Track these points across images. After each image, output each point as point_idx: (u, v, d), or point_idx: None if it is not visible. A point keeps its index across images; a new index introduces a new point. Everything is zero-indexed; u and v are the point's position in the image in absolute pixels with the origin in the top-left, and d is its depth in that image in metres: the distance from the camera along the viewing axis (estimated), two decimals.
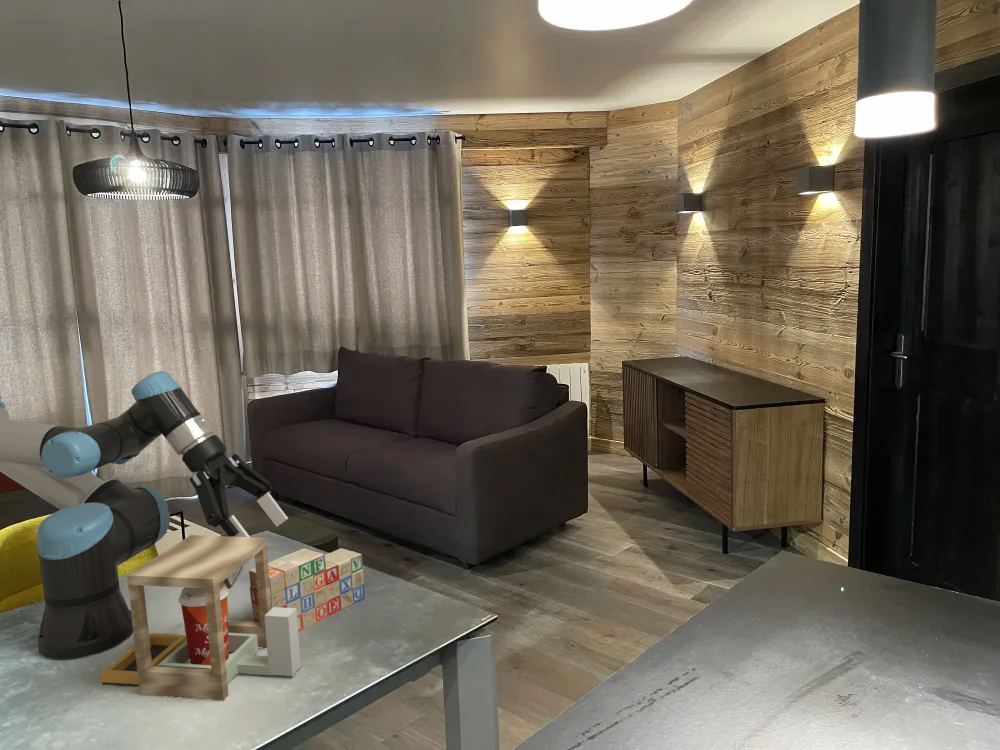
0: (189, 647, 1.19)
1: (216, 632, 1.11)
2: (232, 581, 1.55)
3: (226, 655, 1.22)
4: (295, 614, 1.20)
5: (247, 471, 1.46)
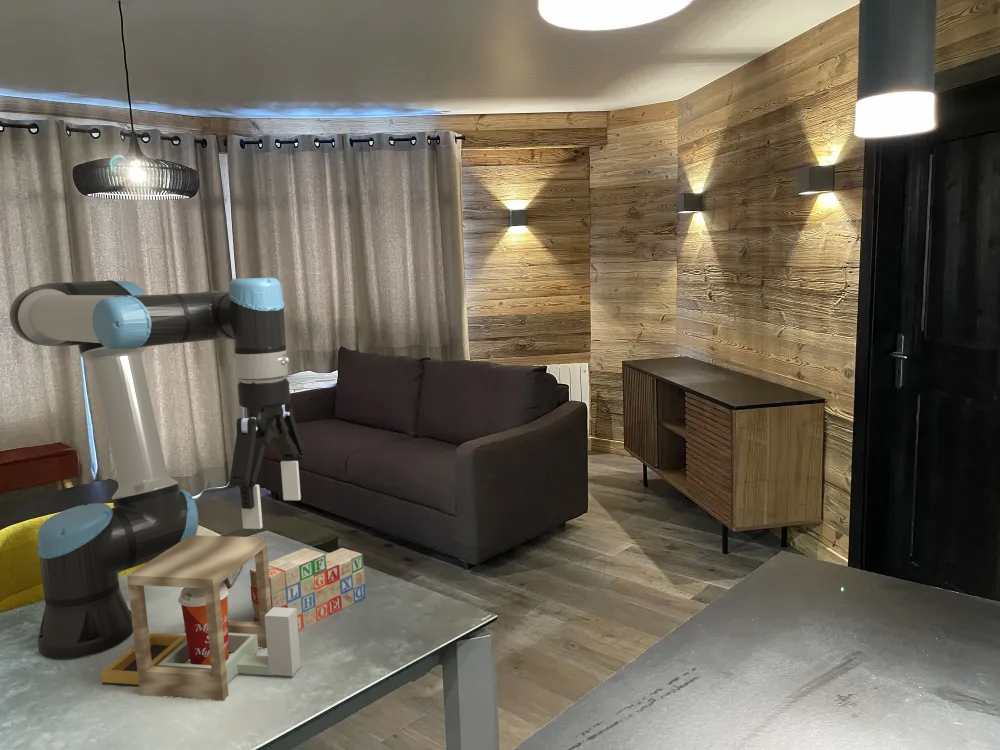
0: (189, 647, 1.19)
1: (216, 632, 1.11)
2: (232, 581, 1.55)
3: (226, 655, 1.22)
4: (295, 614, 1.20)
5: (290, 427, 1.21)
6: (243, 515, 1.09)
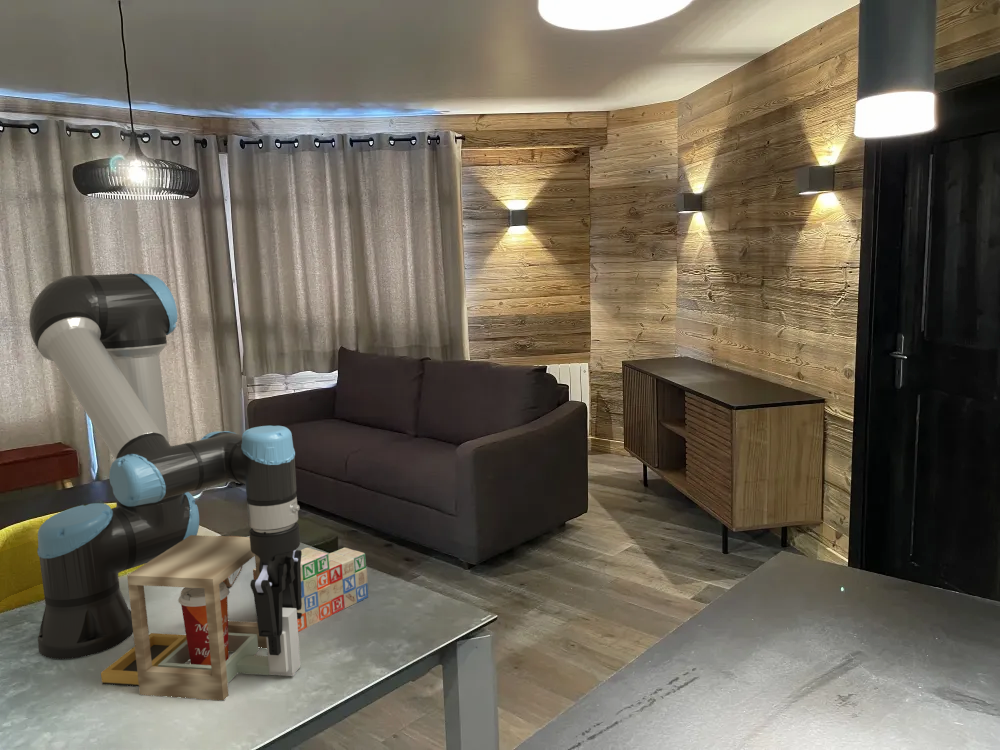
0: (189, 647, 1.19)
1: (216, 632, 1.11)
2: (232, 581, 1.55)
3: (226, 655, 1.22)
4: (295, 614, 1.20)
5: (295, 576, 1.22)
6: (271, 660, 1.18)
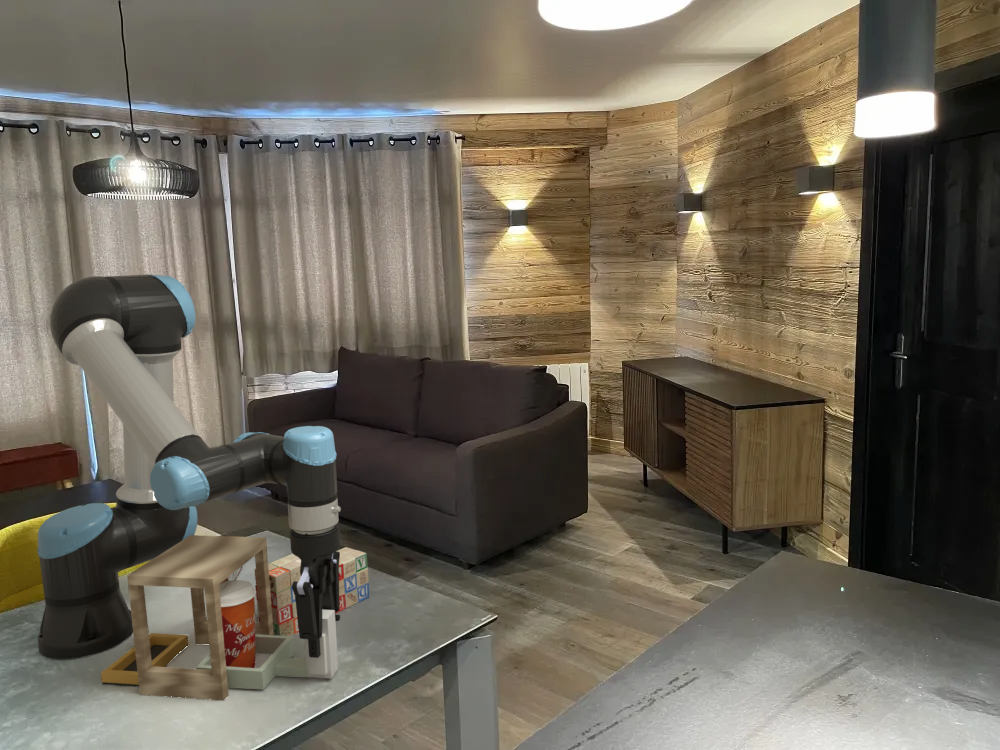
0: None
1: (216, 632, 1.11)
2: None
3: (254, 655, 1.21)
4: (334, 615, 1.19)
5: (333, 578, 1.21)
6: (310, 662, 1.17)
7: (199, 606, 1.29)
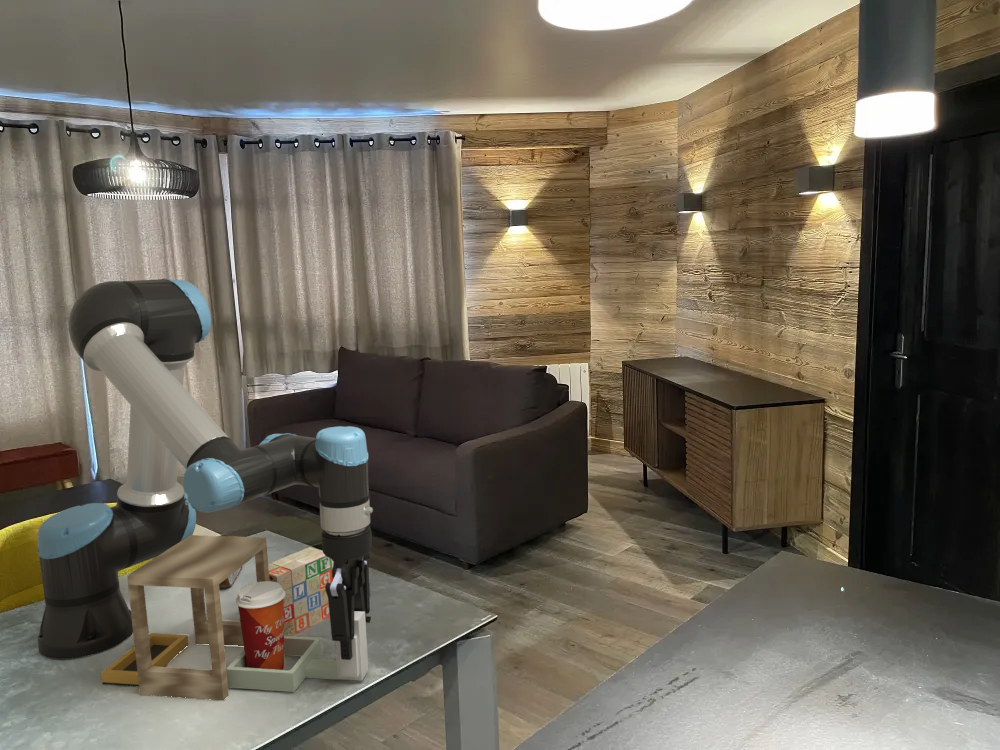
0: (247, 650, 1.18)
1: (216, 632, 1.11)
2: (232, 581, 1.55)
3: (283, 656, 1.21)
4: (364, 617, 1.18)
5: None
6: (342, 664, 1.16)
7: (199, 606, 1.29)
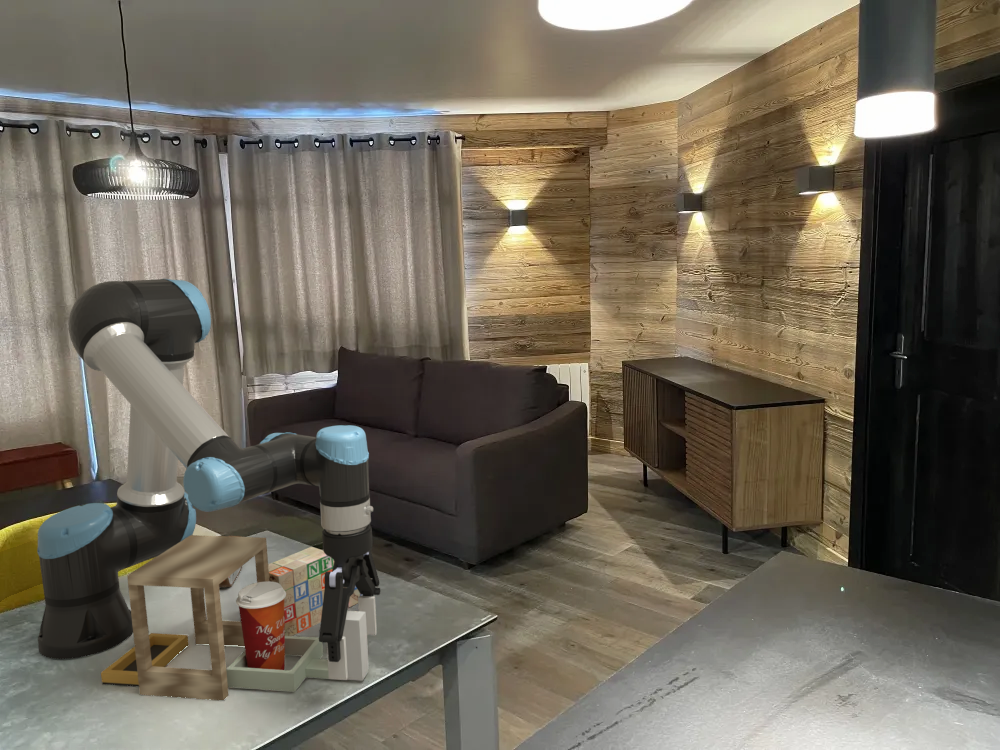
0: (248, 650, 1.18)
1: (216, 632, 1.11)
2: (232, 581, 1.55)
3: (284, 656, 1.21)
4: (365, 617, 1.18)
5: (368, 565, 1.22)
6: (329, 667, 1.11)
7: (199, 606, 1.29)
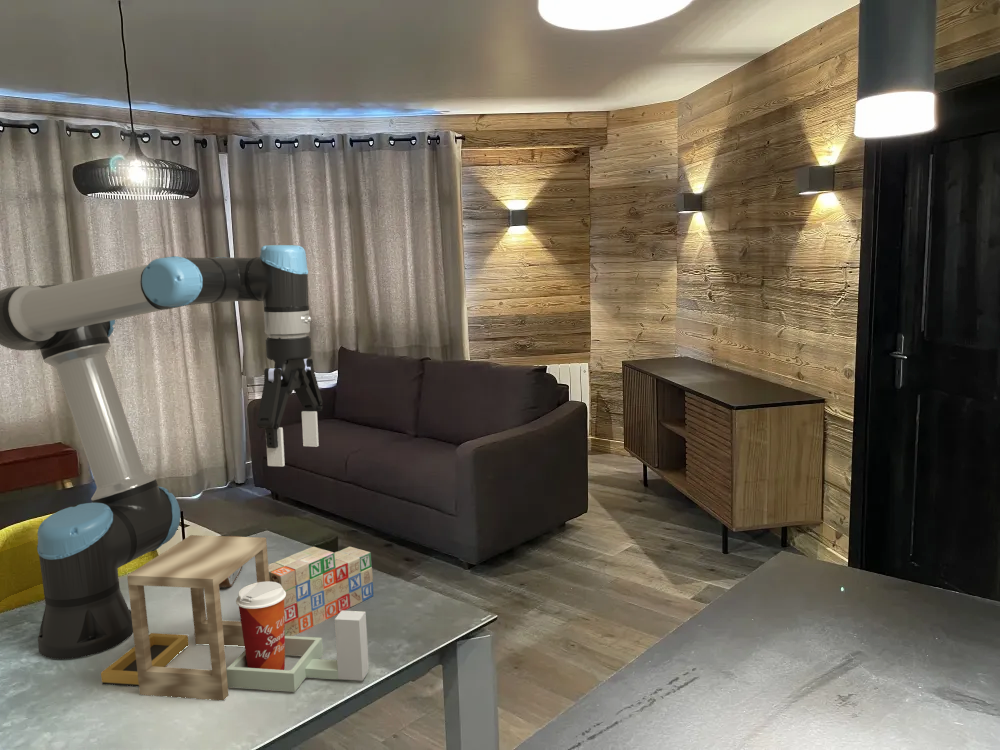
0: (248, 650, 1.18)
1: (216, 632, 1.11)
2: (232, 581, 1.55)
3: (284, 656, 1.21)
4: (365, 617, 1.18)
5: (311, 381, 1.36)
6: (268, 454, 1.24)
7: (199, 606, 1.29)
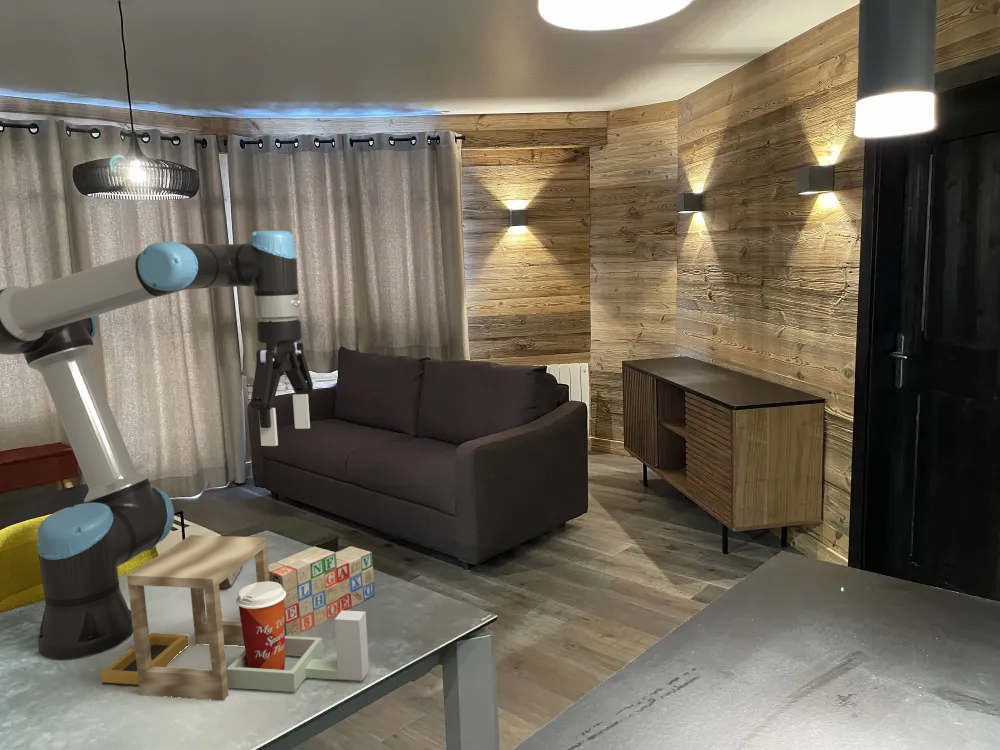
0: (248, 650, 1.18)
1: (216, 632, 1.11)
2: (232, 581, 1.55)
3: (284, 656, 1.21)
4: (365, 617, 1.18)
5: (301, 364, 1.39)
6: (262, 434, 1.28)
7: (199, 606, 1.29)
